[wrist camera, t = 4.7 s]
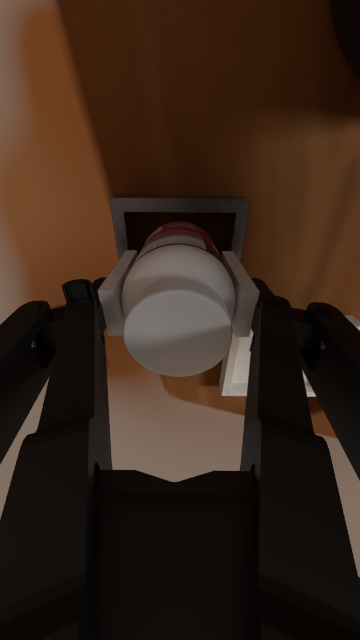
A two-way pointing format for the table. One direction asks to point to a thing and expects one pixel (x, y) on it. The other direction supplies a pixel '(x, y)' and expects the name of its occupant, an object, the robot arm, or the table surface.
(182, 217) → the table surface
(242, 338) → the tray
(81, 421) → the robot arm
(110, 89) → the table surface
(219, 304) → the pill bottle
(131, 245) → the socket frame
